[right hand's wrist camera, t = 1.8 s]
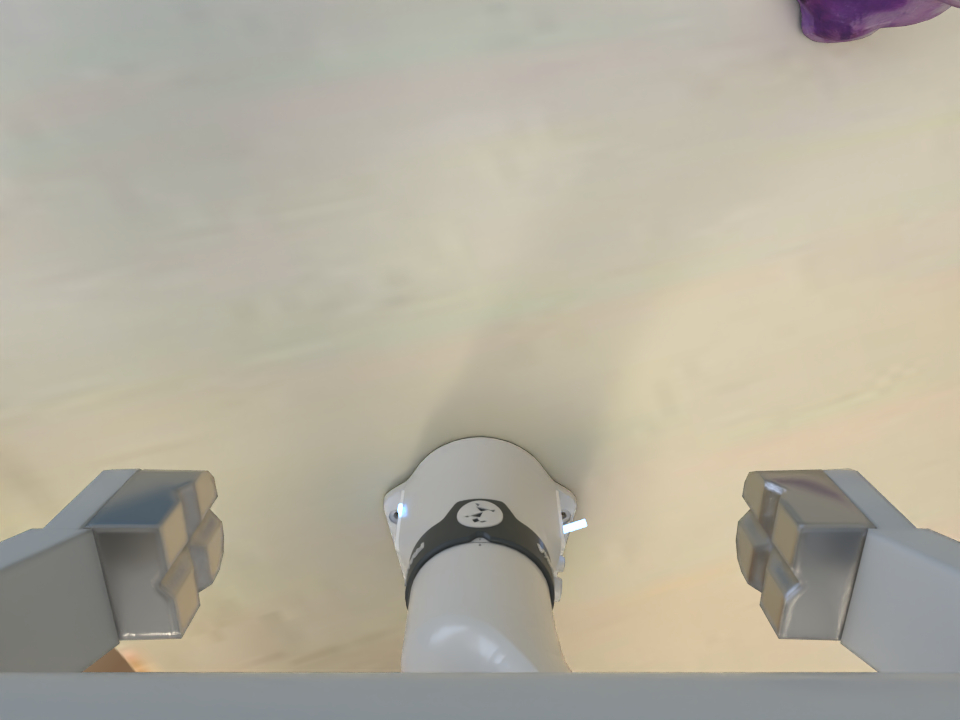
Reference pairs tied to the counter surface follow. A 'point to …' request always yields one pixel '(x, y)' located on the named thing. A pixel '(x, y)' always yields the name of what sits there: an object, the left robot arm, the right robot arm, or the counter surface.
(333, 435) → the counter surface
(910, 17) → the figurine
